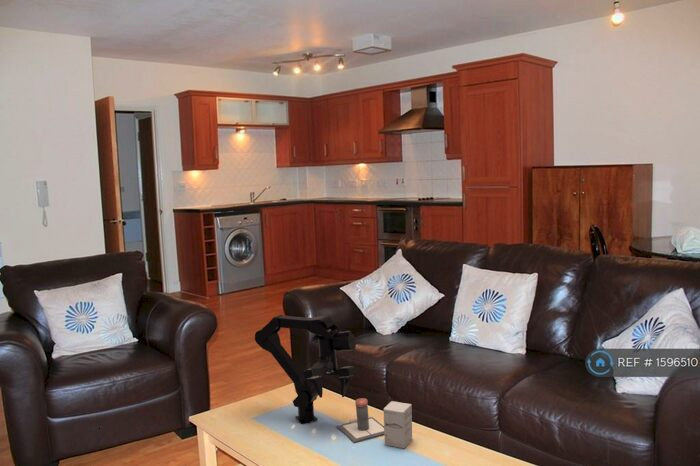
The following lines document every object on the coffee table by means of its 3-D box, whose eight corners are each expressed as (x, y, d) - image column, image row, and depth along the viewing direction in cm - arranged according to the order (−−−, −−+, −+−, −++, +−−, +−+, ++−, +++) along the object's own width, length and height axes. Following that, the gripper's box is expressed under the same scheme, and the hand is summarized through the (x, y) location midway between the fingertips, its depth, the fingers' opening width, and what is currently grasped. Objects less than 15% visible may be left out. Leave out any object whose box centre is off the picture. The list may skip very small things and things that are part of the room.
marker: (355, 427, 207) (353, 400, 206) (366, 424, 209) (364, 397, 208) (360, 431, 204) (358, 404, 202) (371, 428, 205) (369, 401, 204)
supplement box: (383, 445, 195) (382, 408, 193) (393, 435, 201) (391, 400, 200) (404, 449, 191) (403, 412, 190) (413, 439, 198) (412, 403, 196)
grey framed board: (337, 427, 210) (336, 423, 210) (372, 418, 216) (372, 414, 215) (354, 443, 197) (354, 439, 197) (391, 433, 203) (390, 429, 203)
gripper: (292, 356, 207) (297, 402, 205) (338, 353, 198) (343, 401, 196) (310, 352, 217) (314, 396, 215) (354, 349, 208) (359, 395, 206)
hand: (332, 397), depth 208 cm, fingers open, 9 cm apart
